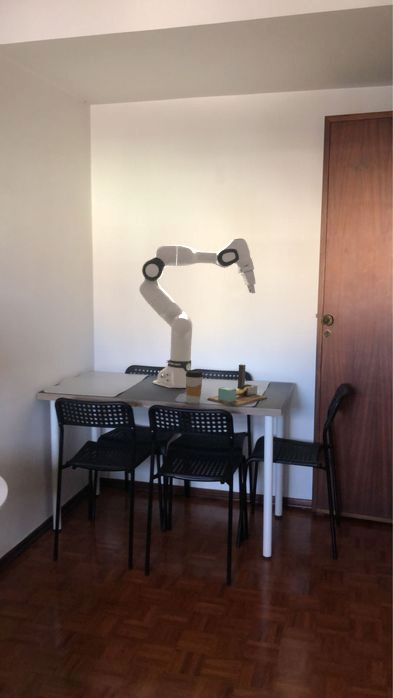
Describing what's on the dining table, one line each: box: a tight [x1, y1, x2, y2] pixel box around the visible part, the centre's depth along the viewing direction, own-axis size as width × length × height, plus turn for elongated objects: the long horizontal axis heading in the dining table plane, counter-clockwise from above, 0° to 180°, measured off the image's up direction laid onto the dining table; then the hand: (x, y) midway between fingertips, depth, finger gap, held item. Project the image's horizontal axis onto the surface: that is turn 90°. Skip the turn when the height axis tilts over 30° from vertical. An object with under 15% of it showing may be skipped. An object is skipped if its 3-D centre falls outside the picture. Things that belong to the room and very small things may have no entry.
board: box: [207, 394, 267, 407], centre depth 292 cm, size 18×26×1 cm
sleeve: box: [236, 383, 258, 397], centre depth 298 cm, size 6×9×4 cm
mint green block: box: [217, 386, 237, 402], centre depth 284 cm, size 7×5×6 cm
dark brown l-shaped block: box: [235, 363, 251, 396], centre depth 294 cm, size 3×14×15 cm, turn 142°
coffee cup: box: [185, 369, 204, 404], centre depth 281 cm, size 8×8×15 cm
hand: (252, 292), depth 315 cm, fingers open, 8 cm apart
